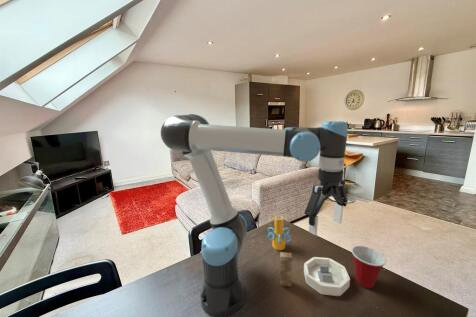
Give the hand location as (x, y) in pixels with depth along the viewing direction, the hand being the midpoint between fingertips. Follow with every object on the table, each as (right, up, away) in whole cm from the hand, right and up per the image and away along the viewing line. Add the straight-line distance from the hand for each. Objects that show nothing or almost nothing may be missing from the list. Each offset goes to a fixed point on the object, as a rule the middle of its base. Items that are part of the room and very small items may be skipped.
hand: (325, 227), depth 75 cm
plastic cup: (+16, -22, +4) cm, 27 cm away
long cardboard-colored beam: (-13, -22, +5) cm, 26 cm away
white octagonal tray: (+2, -21, +6) cm, 22 cm away
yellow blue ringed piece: (-11, -18, +26) cm, 34 cm away
